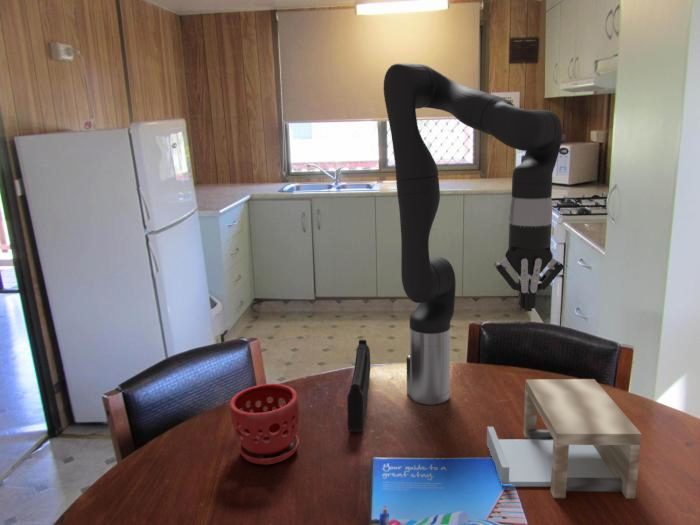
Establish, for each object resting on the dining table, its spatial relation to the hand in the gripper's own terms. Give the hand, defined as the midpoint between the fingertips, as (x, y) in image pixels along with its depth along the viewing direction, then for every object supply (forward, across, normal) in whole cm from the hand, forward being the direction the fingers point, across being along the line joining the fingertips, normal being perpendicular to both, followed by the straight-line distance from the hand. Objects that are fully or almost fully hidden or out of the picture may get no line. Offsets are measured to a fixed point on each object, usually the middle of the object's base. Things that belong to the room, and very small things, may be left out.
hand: (526, 310), depth 110 cm
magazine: (+27, -33, +16) cm, 46 cm away
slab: (+27, +3, -9) cm, 29 cm away
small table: (+27, +7, -9) cm, 29 cm away
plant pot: (+27, -51, -6) cm, 58 cm away
